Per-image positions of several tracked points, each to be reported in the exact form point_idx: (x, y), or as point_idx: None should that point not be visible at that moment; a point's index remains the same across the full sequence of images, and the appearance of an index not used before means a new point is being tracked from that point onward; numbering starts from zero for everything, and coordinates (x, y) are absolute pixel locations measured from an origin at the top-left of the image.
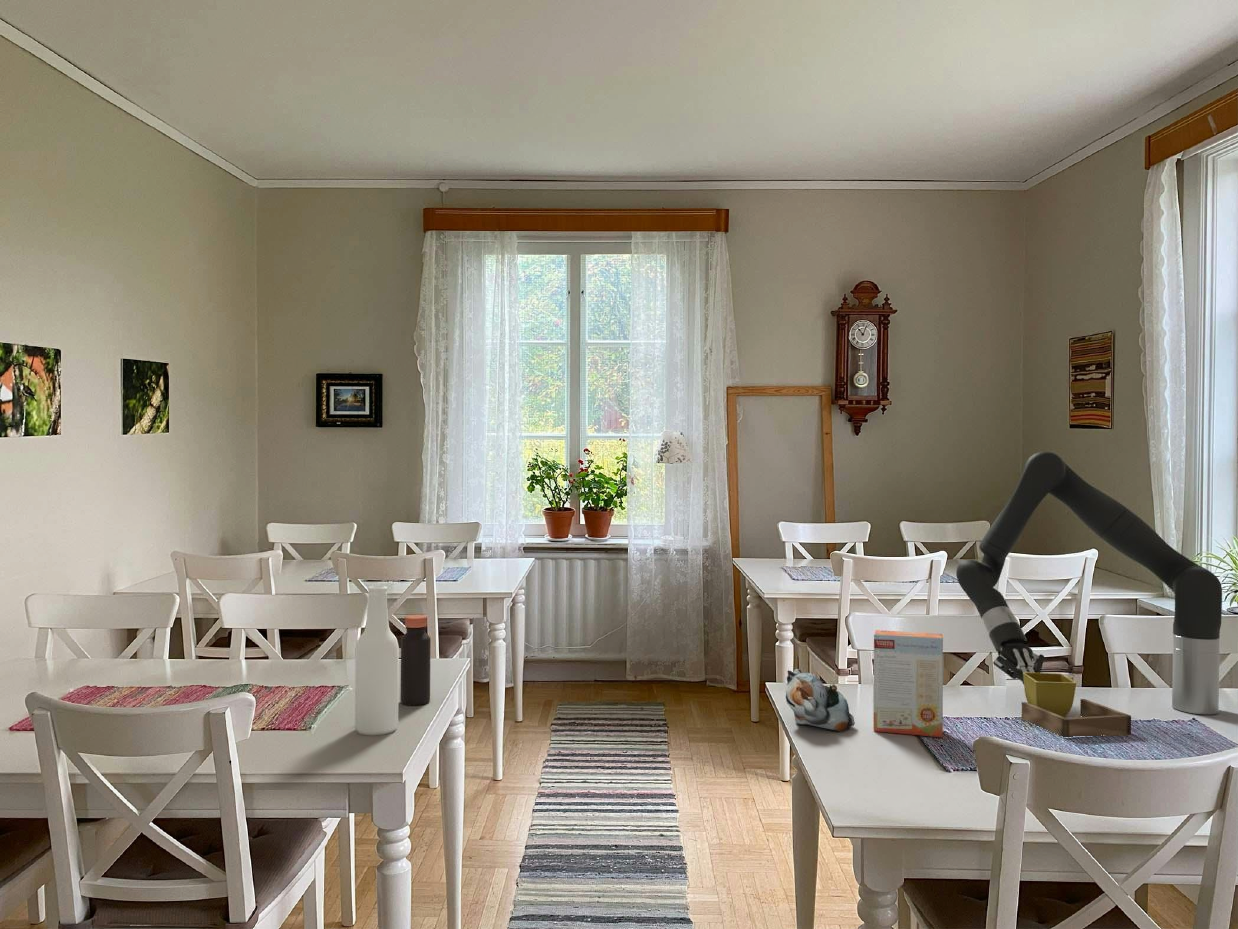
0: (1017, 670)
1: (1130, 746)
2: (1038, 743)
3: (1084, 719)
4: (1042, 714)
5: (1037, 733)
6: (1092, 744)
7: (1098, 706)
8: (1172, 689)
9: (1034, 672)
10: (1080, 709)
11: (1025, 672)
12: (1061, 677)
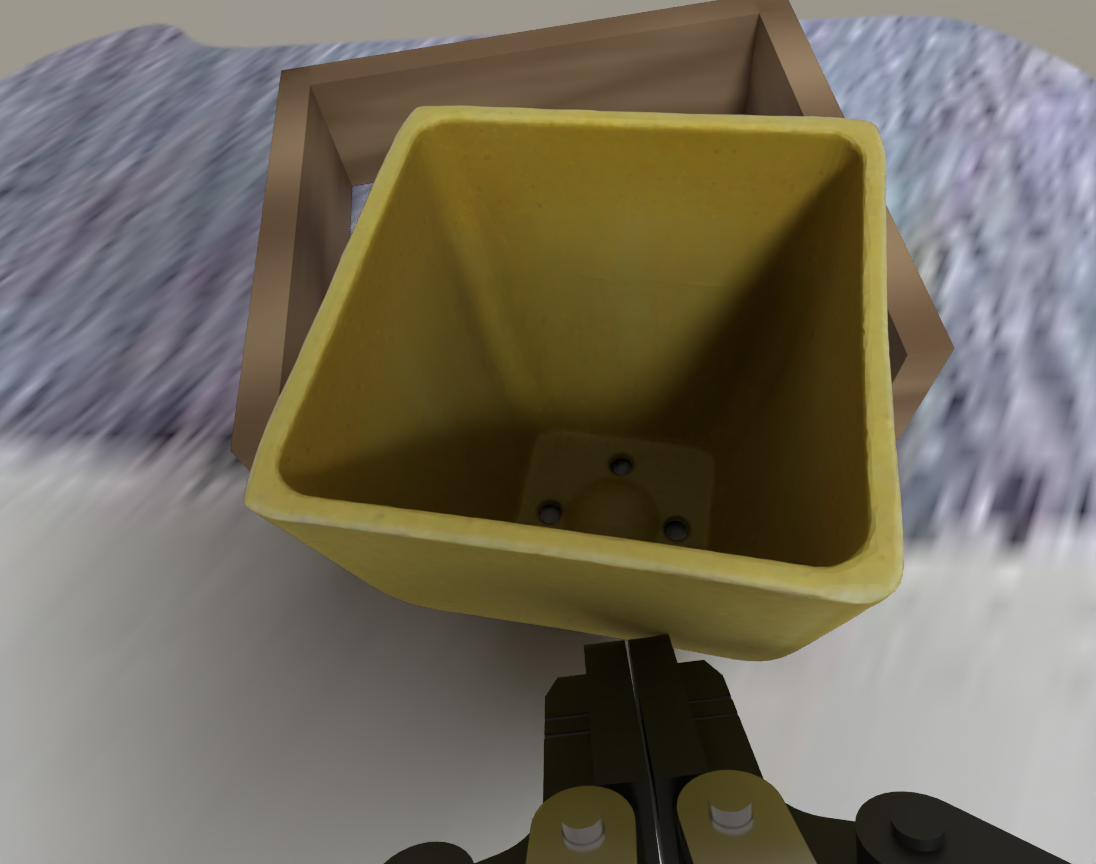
0: (944, 828)
1: (480, 37)
2: (955, 46)
3: (635, 18)
4: None
5: (891, 181)
6: None
7: (295, 262)
8: None
9: (530, 843)
10: None
11: (847, 580)
12: (305, 455)
